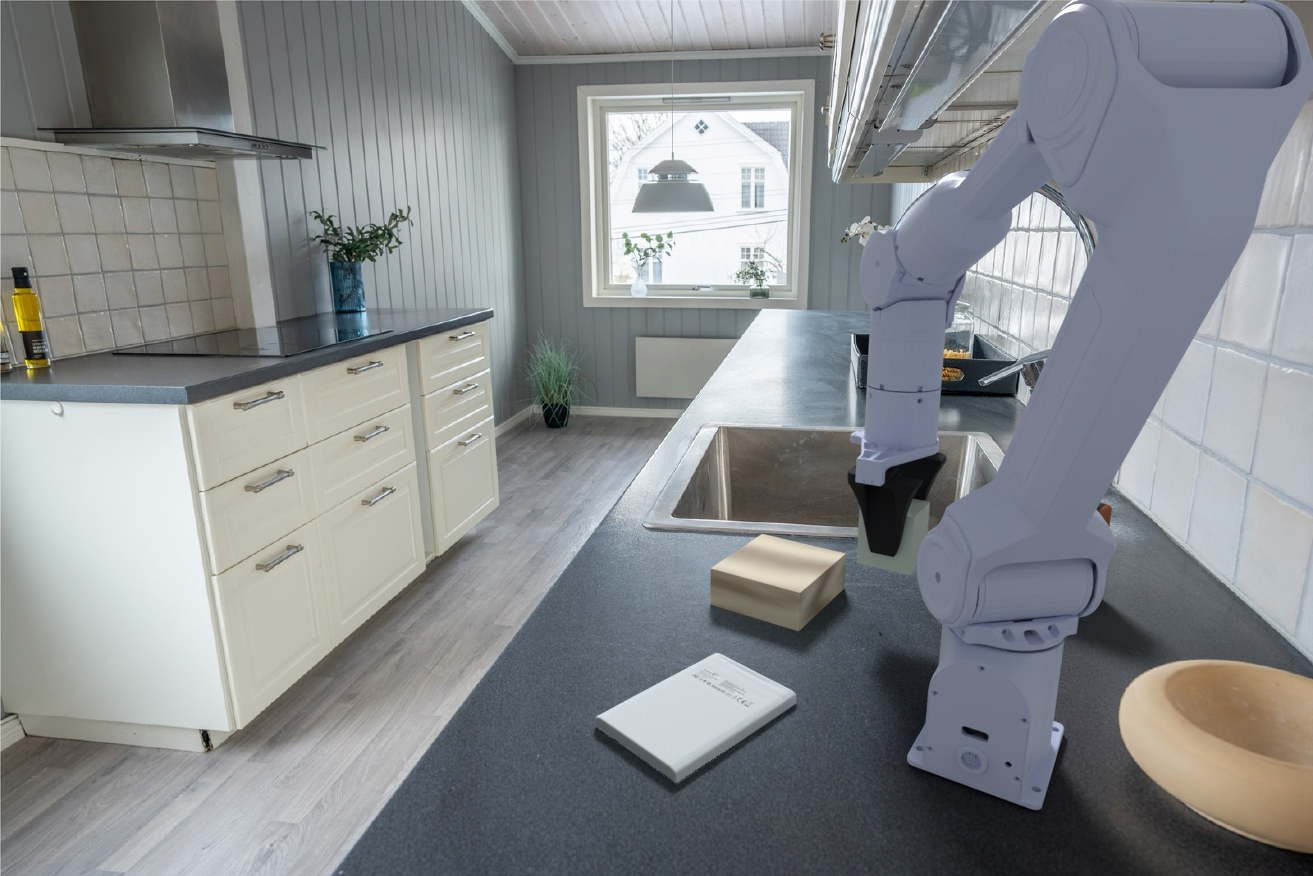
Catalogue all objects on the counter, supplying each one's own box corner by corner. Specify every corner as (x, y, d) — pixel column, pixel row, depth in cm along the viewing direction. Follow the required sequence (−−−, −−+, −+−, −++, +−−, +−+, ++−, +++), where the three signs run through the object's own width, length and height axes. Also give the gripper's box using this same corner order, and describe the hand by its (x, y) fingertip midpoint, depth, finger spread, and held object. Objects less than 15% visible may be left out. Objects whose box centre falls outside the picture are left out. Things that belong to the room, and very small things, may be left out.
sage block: (909, 575, 63) (913, 517, 62) (856, 563, 66) (859, 507, 64) (925, 556, 67) (930, 501, 66) (874, 545, 69) (877, 492, 68)
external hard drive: (595, 734, 55) (715, 667, 63) (676, 792, 49) (796, 710, 57) (594, 714, 54) (715, 649, 63) (676, 771, 49) (797, 691, 57)
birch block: (798, 635, 67) (800, 593, 66) (710, 607, 72) (710, 568, 71) (843, 591, 75) (845, 553, 74) (761, 569, 80) (762, 533, 79)
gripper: (884, 368, 70) (876, 509, 74) (820, 396, 59) (814, 562, 62) (965, 375, 66) (952, 523, 70) (914, 407, 55) (902, 582, 58)
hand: (893, 543), depth 66 cm, fingers closed on sage block, 4 cm apart
